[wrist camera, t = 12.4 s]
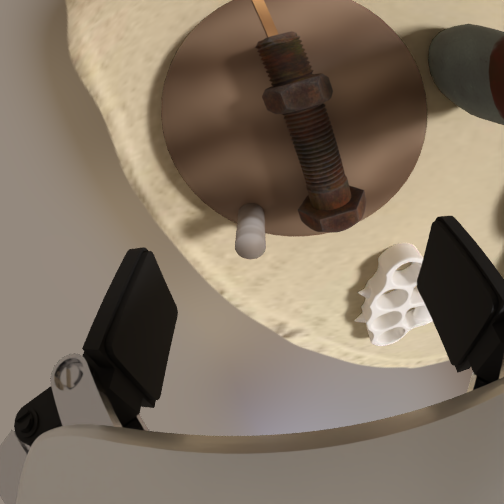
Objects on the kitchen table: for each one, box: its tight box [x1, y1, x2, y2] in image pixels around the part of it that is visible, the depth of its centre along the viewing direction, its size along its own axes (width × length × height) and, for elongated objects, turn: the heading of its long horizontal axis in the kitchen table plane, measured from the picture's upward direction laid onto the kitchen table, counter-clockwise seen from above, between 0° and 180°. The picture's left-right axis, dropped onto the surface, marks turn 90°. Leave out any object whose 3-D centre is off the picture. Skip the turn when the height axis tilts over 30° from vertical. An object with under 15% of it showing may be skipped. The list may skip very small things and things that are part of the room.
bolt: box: [255, 31, 366, 232], centre depth 19 cm, size 6×5×15 cm
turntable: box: [161, 0, 427, 259], centre depth 20 cm, size 23×23×6 cm
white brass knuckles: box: [354, 243, 433, 346], centre depth 36 cm, size 3×18×15 cm
